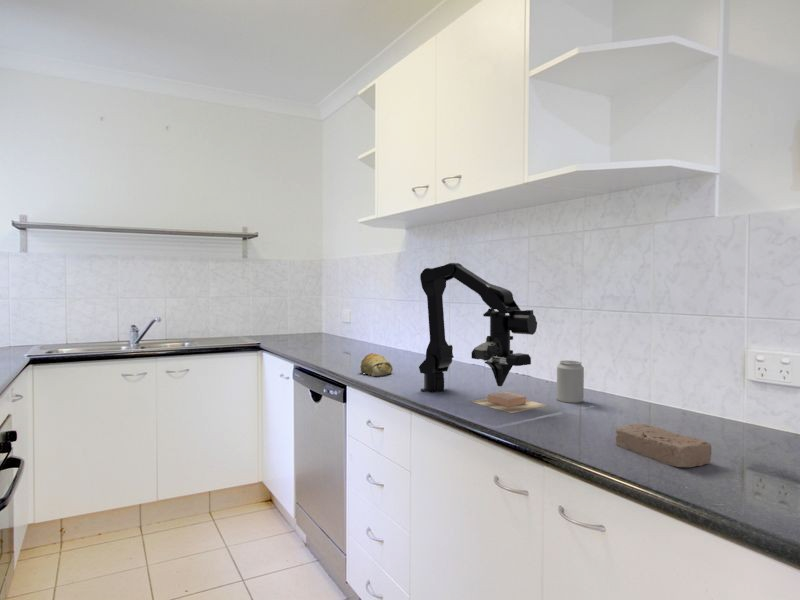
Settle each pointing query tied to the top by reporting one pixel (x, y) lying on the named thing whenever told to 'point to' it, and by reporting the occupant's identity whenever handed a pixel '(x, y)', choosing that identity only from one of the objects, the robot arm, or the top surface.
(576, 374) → the can
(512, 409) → the board
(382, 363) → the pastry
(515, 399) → the tile
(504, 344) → the robot arm
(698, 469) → the top surface
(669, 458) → the brick
